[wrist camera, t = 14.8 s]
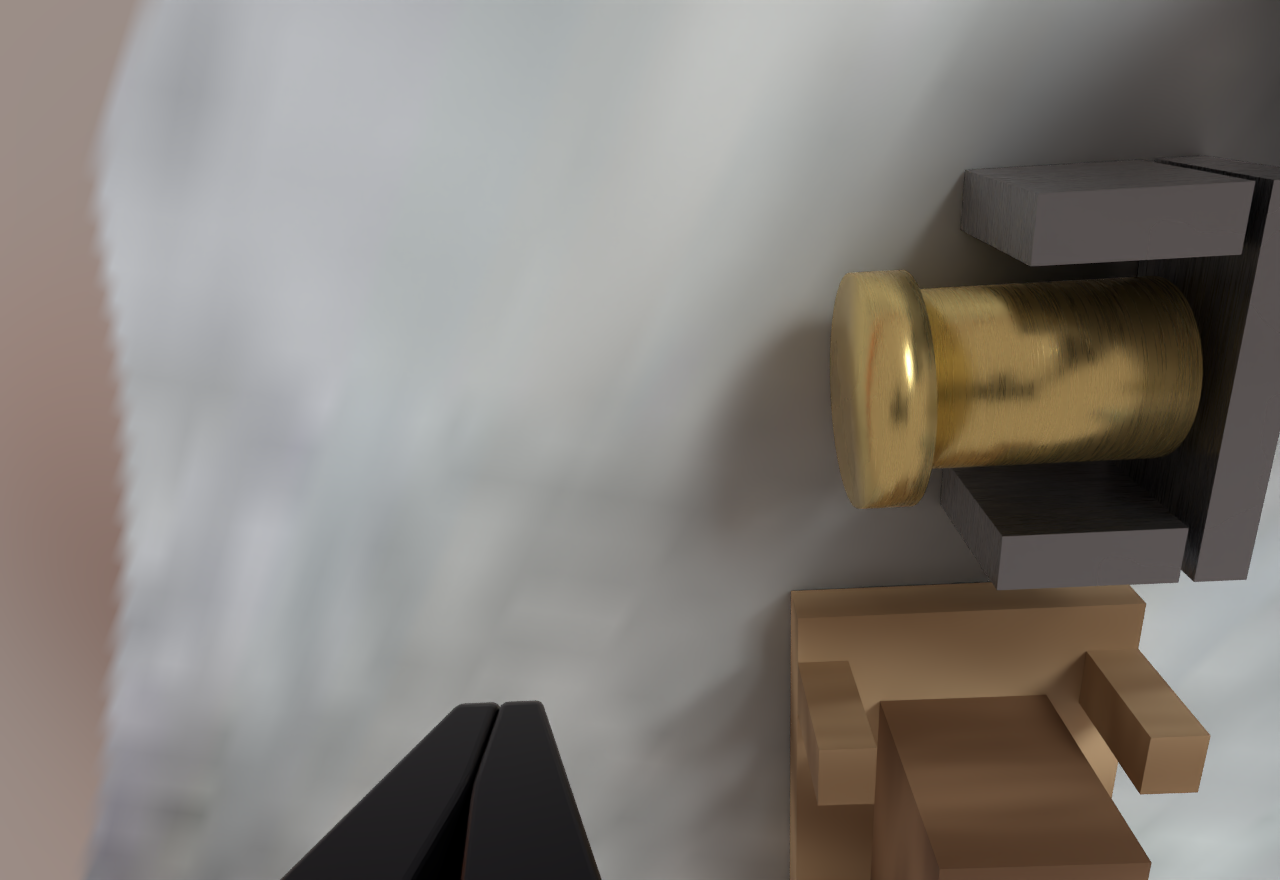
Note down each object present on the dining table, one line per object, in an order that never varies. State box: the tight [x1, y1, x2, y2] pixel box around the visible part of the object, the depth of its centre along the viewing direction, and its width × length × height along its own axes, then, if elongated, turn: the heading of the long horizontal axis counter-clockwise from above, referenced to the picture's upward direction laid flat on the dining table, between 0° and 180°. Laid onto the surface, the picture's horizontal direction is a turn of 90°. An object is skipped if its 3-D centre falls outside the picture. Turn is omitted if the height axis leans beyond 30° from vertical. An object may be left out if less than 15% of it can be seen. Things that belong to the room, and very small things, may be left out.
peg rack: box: [790, 582, 1210, 880], centre depth 22 cm, size 12×8×4 cm, turn 4°
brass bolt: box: [830, 270, 1203, 509], centre depth 18 cm, size 6×5×5 cm
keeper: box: [940, 155, 1280, 590], centre depth 18 cm, size 5×8×4 cm, turn 4°
